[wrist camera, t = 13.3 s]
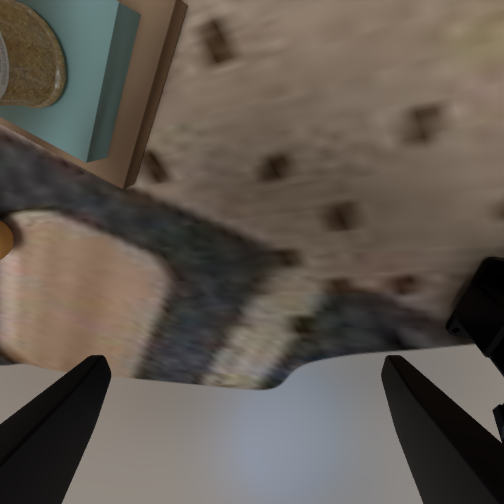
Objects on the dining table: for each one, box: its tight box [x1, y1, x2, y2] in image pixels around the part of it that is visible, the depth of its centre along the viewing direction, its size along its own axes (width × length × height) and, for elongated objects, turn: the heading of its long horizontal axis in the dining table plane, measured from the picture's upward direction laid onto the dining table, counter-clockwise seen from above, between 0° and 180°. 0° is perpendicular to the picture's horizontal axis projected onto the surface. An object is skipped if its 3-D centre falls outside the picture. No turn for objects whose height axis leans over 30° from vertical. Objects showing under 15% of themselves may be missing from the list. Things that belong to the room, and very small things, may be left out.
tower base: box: [0, 0, 188, 189], centre depth 16 cm, size 11×11×4 cm
